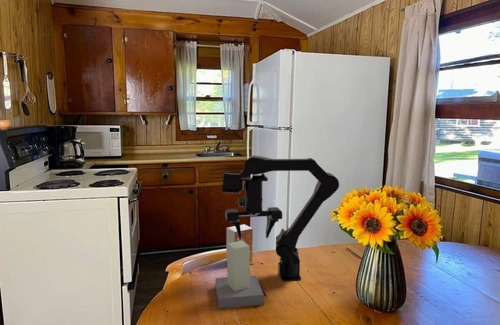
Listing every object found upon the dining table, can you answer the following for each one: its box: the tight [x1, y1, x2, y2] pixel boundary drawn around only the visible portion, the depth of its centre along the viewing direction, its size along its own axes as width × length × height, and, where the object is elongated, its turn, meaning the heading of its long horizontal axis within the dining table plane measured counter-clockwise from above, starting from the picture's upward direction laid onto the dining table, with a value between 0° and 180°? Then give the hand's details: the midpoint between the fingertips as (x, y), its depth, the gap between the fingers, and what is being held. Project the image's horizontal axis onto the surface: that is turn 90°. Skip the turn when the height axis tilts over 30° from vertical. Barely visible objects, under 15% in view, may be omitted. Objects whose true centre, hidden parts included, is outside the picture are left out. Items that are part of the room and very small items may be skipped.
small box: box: [225, 224, 254, 263], centre depth 131 cm, size 8×6×13 cm
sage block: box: [226, 241, 251, 291], centre depth 105 cm, size 5×5×13 cm
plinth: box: [214, 274, 265, 309], centre depth 106 cm, size 13×13×3 cm
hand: (253, 238), depth 118 cm, fingers open, 9 cm apart
